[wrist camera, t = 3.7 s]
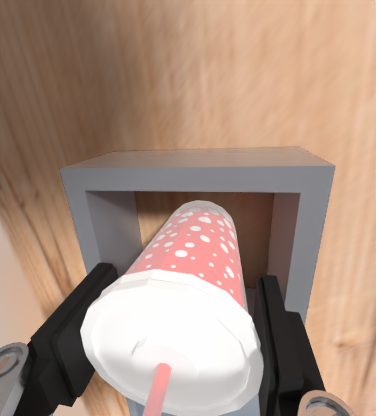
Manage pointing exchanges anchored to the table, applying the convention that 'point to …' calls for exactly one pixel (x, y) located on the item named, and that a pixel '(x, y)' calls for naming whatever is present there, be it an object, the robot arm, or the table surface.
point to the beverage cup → (179, 321)
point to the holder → (205, 182)
